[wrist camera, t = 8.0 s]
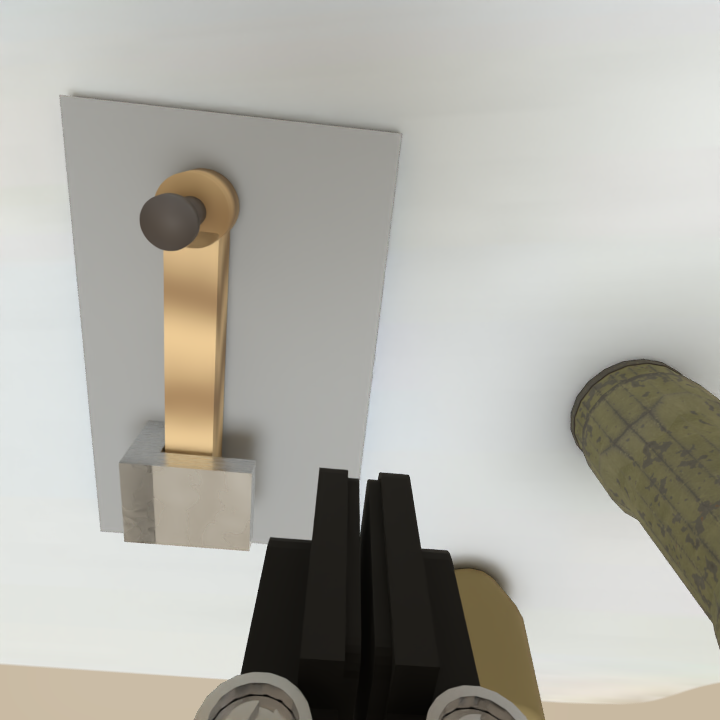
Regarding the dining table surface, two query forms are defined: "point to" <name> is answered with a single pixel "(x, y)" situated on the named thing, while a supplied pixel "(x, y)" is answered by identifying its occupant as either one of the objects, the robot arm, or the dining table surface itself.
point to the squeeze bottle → (499, 641)
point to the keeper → (185, 496)
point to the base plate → (236, 289)
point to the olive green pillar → (659, 464)
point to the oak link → (193, 302)
